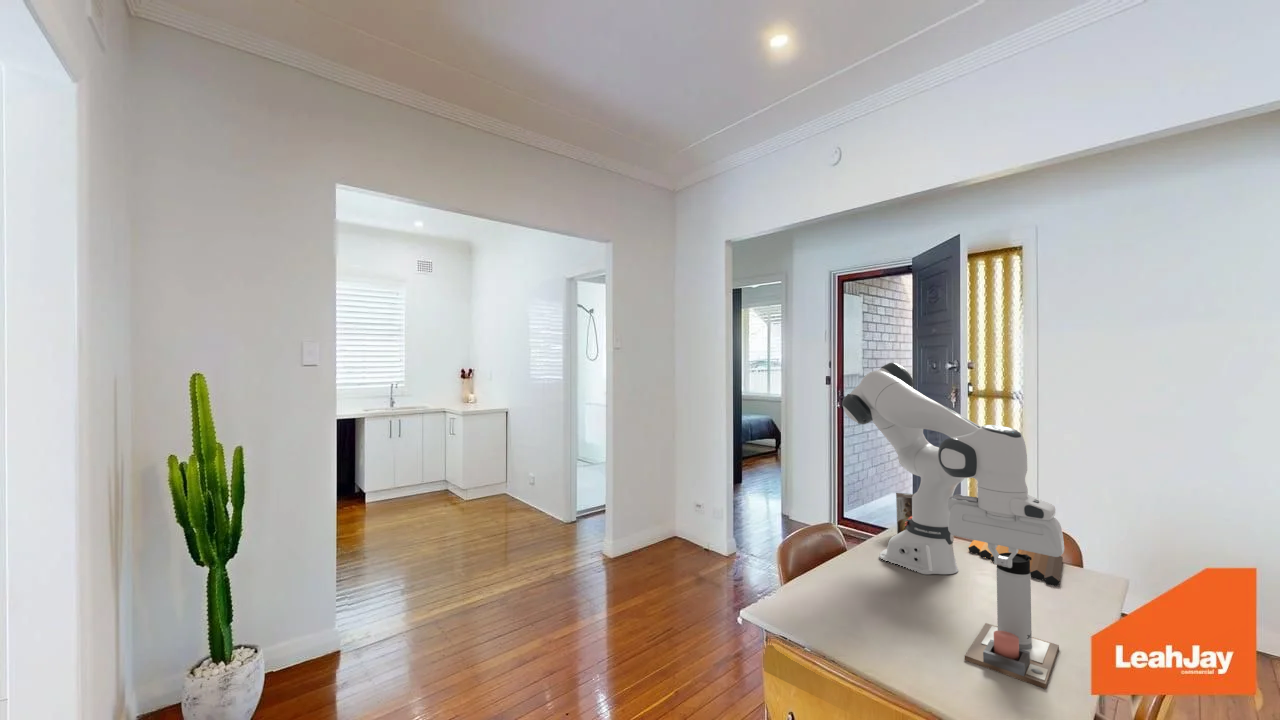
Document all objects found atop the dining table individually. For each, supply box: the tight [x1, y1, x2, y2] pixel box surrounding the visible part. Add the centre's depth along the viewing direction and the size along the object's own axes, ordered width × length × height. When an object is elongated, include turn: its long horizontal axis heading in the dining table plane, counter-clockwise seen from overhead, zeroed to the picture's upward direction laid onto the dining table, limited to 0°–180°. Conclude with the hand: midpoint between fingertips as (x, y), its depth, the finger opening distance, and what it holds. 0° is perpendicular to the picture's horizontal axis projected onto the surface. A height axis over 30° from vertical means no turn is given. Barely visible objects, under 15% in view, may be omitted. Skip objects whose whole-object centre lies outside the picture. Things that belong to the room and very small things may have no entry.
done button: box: [994, 631, 1019, 660], centre depth 107 cm, size 4×4×4 cm
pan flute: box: [967, 540, 1064, 587], centre depth 164 cm, size 25×3×25 cm
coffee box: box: [895, 492, 914, 535], centre depth 189 cm, size 9×6×16 cm
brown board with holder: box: [964, 622, 1060, 690], centre depth 112 cm, size 14×20×3 cm
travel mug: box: [996, 553, 1033, 649], centre depth 115 cm, size 6×7×20 cm
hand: (1003, 565), depth 108 cm, fingers closed
